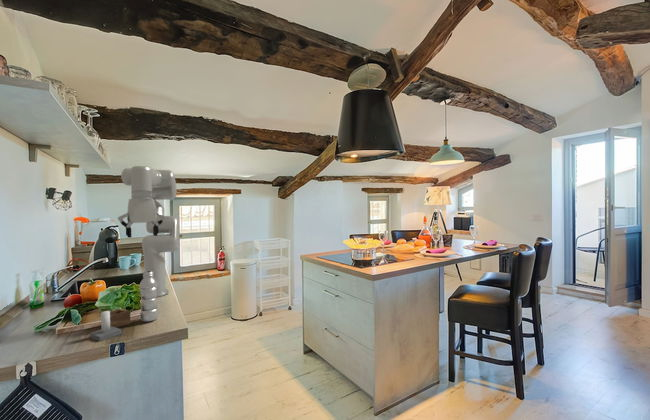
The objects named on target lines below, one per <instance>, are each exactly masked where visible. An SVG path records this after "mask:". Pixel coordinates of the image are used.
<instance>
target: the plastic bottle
mask: <svg viewBox="0 0 650 420" xmlns="http://www.w3.org/2000/svg"><path fill="white" fill-rule="evenodd" d="M153 276H154V274H153V271H145V272H144V271H143V272H142V277H143V278H142V280H141V281H140V283H139V286H138V287H139V291H140V292H139V293H140V300H141V302H140V303H141V305H140V312H139V318H140V321H142V322H144V323H146V322H153V321H155V320H157V319H158V317H159V309H158V303H157V302H158V301H157V297H156V294H157V281H156V280H155V279H154V277H153Z"/></svg>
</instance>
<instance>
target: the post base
mask: <svg viewBox="0 0 650 420" xmlns="http://www.w3.org/2000/svg"><path fill="white" fill-rule="evenodd" d="M110 311H111V310H104V311H101V312H100V323H101V324H100V325H101V329H98V330H96V331H93V332H89V337H90V338H91V339H93V340H96V341H98V342H102V341H105V340H108V339H111V338H114V337H116V336H119V335H122V334H123V333H122V332H123V330H122V329H121V328H119V327H118V328H116V327H113V326H110Z"/></svg>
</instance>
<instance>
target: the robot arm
mask: <svg viewBox="0 0 650 420" xmlns="http://www.w3.org/2000/svg"><path fill="white" fill-rule="evenodd" d="M121 181H122V183H123V184H124V185H125V186H131V187H130V190H131V192H130V193H131V198H130V199H129V198H128V199H129V200H128V203H127V212H126V213H124V214H122V215H120V216H118V217H117V220H118V222H120V224H121V225H122V226H123V227H125V236H127V238H132V227H131V226H132V225H133V224H134V223H135V224H139V223H141V224H142V223H144V224H145V226H146V227H145V228H146V232H147V233H149V235H146V236H144V237H143V238H142V240H141V247H142V252H143V264H144V265H143V266H144V268H143V269H144V270H143V272H145V271H153V274H154V276H153V277H154V279H155V280H156V281H157V294H156V298H159V297H163V296H166V295H168V294H169V292H170V291H169V289H167V288H166V260H165V258H164V257H163V255H161V253H174V252H176V251H179V248H180V221H179V220H180V219H179V218H178V217H177V216H175V215H165V207H164V206H163V205H162V204H161V202H158V201H159V200H161V201H162V200H164V201H165V200H167V201H168V200H175V199H176V198H177V194H178V193H177V192H178V191H177V184H176V176H175V174H174V172H173V171H172V170H168V169H154V168H151V167H149V166H146V165H145V166H143V165H134V166H132V167H131V168H126V167H125V168H124V169H122V172H121ZM157 200H158V201H157ZM125 218H126V220H127V222H126V221H125V220H124V219H125Z"/></svg>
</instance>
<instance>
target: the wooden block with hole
mask: <svg viewBox="0 0 650 420" xmlns="http://www.w3.org/2000/svg"><path fill="white" fill-rule="evenodd" d="M109 311H110V326H113V327H116V328H118V329H119V328H121V327H124V326H127V325H130V324H131V310H129V309H124V308H122V307H121V309H120V308H116V309H114V310H109Z"/></svg>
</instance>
